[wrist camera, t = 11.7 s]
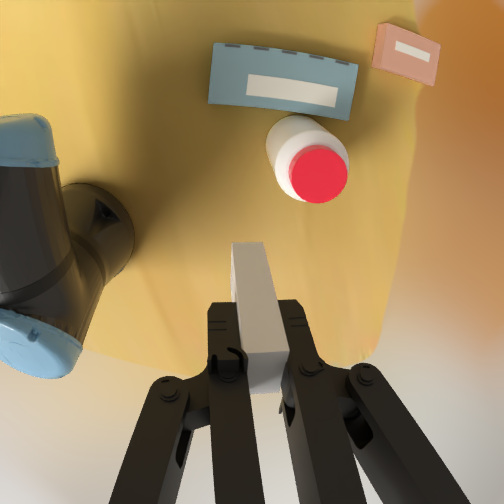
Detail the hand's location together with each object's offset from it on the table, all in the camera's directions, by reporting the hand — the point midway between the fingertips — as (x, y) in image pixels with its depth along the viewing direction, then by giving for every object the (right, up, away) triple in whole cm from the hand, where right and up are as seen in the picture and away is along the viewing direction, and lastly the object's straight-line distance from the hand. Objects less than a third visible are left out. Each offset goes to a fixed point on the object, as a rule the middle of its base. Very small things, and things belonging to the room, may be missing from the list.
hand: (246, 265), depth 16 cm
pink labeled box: (+19, +25, +15) cm, 35 cm away
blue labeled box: (+4, +20, +17) cm, 27 cm away
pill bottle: (+6, +14, +22) cm, 27 cm away
